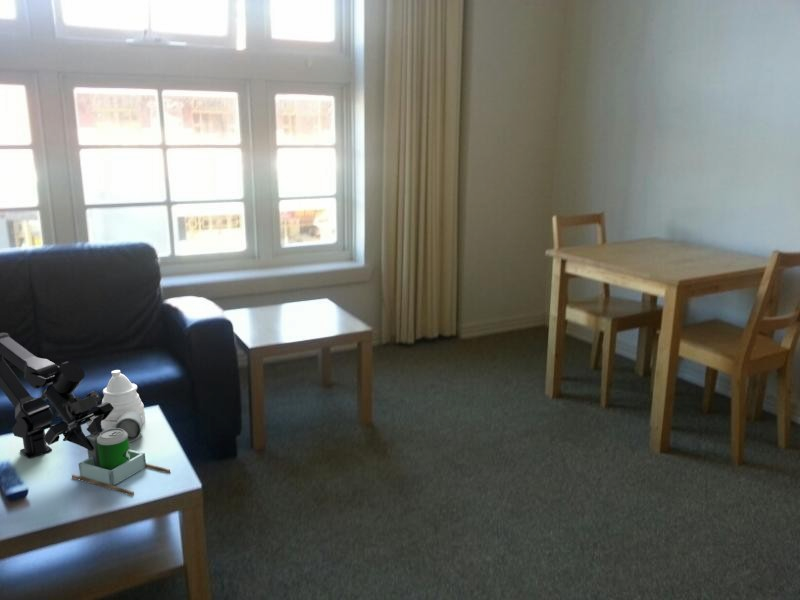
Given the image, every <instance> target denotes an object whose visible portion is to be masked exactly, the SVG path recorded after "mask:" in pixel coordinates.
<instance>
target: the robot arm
mask: <svg viewBox="0 0 800 600" xmlns="http://www.w3.org/2000/svg"><path fill="white" fill-rule="evenodd" d="M4 358H5V359H6V360H8V361H9V362H10V363H11V364H13V365H14V366H15V367H17V368H18V369H19V370H20V371H21V372H22V373H23V378H24V380H25V381H26V382H27V383H28V384H29V385H30V386H31V388H34V389H40V388H44V387H46V386H47V387H46V388H45V389H43V390H42V391H41V394H42V395H41V396H39V397H37V398H36V397H33V396H32V395H31V394H30V392H29V391H28V390H27V389H26V387H25V386H24V384H23V383H22V382H21V381H20V379H19V378H18V377H17V375H16V374H15V372H13V370H12V368H11V367H10V366H9V365H8V364H7V362H6V361H5V359H4ZM84 379H85V371H84V369H83V368H81V367H80V366H79V365H76V364H70V362H69V361H65V362H62V363H61V364H60V365H57V364H56V363H54V362H53V361H50V360H49V359H47V358H41V357H37V356H36V355H34V354H33V353H31V352H30V351H29V350H28V349H26V348H25V347H23V346H22V345H21V344H20V343H18V342H17V341H15V340H14V339H13V338H12V337H11V335H10V333H8V332H0V389H1V391H2V392H3V393H4V395H5V396H6V397H7V399H8V400H9V401H10V403H11V405H13V407H14V419H15V420H16V422H15V424H14V426H13V427H12V429H11V430H12V434H13V435H14V437H17V438H21V439H22V442H23V443H22V444H23V449H20V450H19V453H21V454H22V455H23V456H25V458H27V459H30V458H33V457H37V456H40V455H43V454H45V453H46V454H47V453H49V452H52V451H53V449H52V447H50V445H53V444H55V443H56V442H57V443H58V441H60V440H59V439H60V436H61V435H63V439H62V441H63V442H70V443H73V444H75V445H77V446H80V447H83V448H84V449H86V450H87V451H88V450H90V451H92V450H93V449H94V447H93V446H92V444H91V443H90V441H89V440H88V439H87V437H86V436H87V435H86V434H85V433H84V432H83V428H82V426H83V425H85V424H86V425H87V426H88V427H86V430H87V432H88V433H90V434H92V433H94V432H96V431H97V432H101V433H102V432H103V431H104V430H103V429H102V427H101V421H102V420H104V419H106V418H107V417H108V415H109V414H110V413H111V412H112V410H113V409H114V407H113V406H112V405H111V404H110V403H108V402H105V403H103V404H102V403H101V404H98V402H100V401H101V400H102V398H101V396H100V394H99V393H98V392H97V391H96V390H93V391H91V392H89V393H86V397H85V398H82V397H80V396H77V397H76V396H75V394H74V393H73V392H75V391H76V389H77V388H78V386H80V384H81V383H82V381H83V380H84ZM46 400H48V402H49V403H50V405H51V406H52V407H53V409H54V410H55V411H56V412H55V416H56V417H57V418H58V417H60V418H61V420H62V421H60V422H57V423H56V424H53V420H54V419H53V418H54V413H53V410H52V409H51V406H50V405H48V404H47V402H46ZM92 408H94V409H93V411H92ZM91 411H92V412H91ZM47 429H48V430H47ZM46 430H47V432H45V431H46ZM90 434H89V435H90Z"/></svg>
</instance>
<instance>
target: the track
mask: <svg viewBox="0 0 800 600" xmlns="http://www.w3.org/2000/svg"><path fill="white" fill-rule="evenodd" d="M145 468H148V469H153V470H156V471H161V472H164V473H168V474H170V473H171V469H170V468H167V467H166V468H165V467H163V466H158V465H154V464H151V463H147V462H146V467H145ZM71 478H72V479H74V478H75V479H74V480H78V479H80V480H79V481H81V480H83V481H82V482H84V481H86V482H85V483H88V482H90V483H89V484H91V483H93V484H92V485H95V484H97V485H96V486H98V485H100V486H99V487H102V486H103V487H102V488H105V487H107V488H106V489H109V488H110V489H109V490H112V489H113V491H116V492H119V491H120V492H119V493H122V492H123V493H122V494H126V493H127V495H130V496H134V495H135V492H134V491H132V490H130V489H126V488H122V487H118V486H116V485H114V486H112V485H109V484H105V483H102V482H98V481H95V480H91V479H88V478H84V477H81V476H80V475H76V474H71Z"/></svg>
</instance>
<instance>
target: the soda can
mask: <svg viewBox="0 0 800 600" xmlns="http://www.w3.org/2000/svg"><path fill="white" fill-rule="evenodd" d="M102 431H103V432H102V433H101V434H100V435H99V436H98V438H97V444H98V452H99V460H100V468H104V469H108V470H112V469H114V468H116V467H118V466H120V465H121V464H123V463H125V462H127V461H129V460H130V450H131V449H130V442H128V434H127V432H125V431H124V430H123V429H120V428H114V429H108V430H102ZM129 449H130V450H129Z"/></svg>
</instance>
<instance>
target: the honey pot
mask: <svg viewBox="0 0 800 600" xmlns="http://www.w3.org/2000/svg"><path fill="white" fill-rule="evenodd" d="M111 375H112V376H111V378H110V379H109V381H108V383H107V386H106V387H105V388H103V390H102V394H103V398H102V399H101V400H102V401H101V404H103V403H105V402H108V403H110V404H111V405H112V406H113V407H114V409H113V410H112V412H111V413H110V414H109V415H108V417H107V418H106V419H104V420H102V421H101V427H102V428H103V429H104V430H103V429H102V430H103V431H105V430H108V429H114V427H115V424H116V422H117V420H118V418H119V417H120V416H121V415H122V414H123V413H125V412H128V411H134V412H136V413H138V414H139V415H140V416H141V418H142V421H143V424H144V423H145V422H146V415H145V414H146V413H145V405H144V403H143V402H142V399H141V398H140V394H139V393H138V392H137V390H138V385H137V384H135V383H132V382H131V381H130V380H129V378H128V377H127V376H126V375H125V374H123V373H121V370H120V369H115V370H112V371H111Z"/></svg>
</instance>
